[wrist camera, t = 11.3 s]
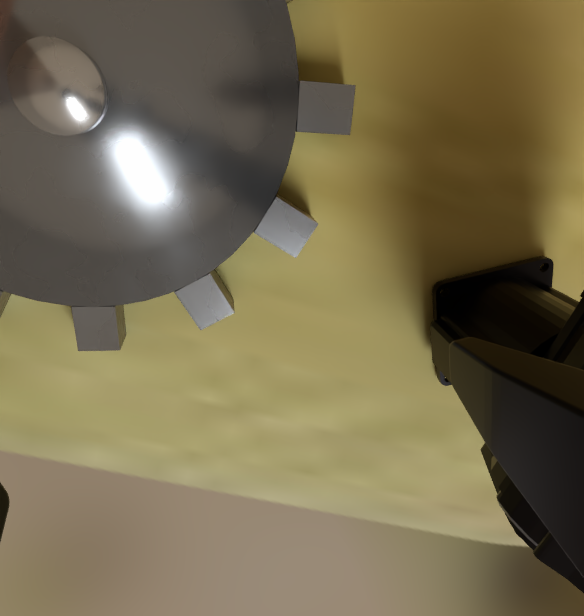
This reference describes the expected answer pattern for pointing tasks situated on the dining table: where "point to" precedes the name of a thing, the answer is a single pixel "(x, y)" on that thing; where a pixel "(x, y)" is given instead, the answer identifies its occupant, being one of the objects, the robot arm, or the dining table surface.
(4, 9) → the sprocket plate
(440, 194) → the dining table surface
